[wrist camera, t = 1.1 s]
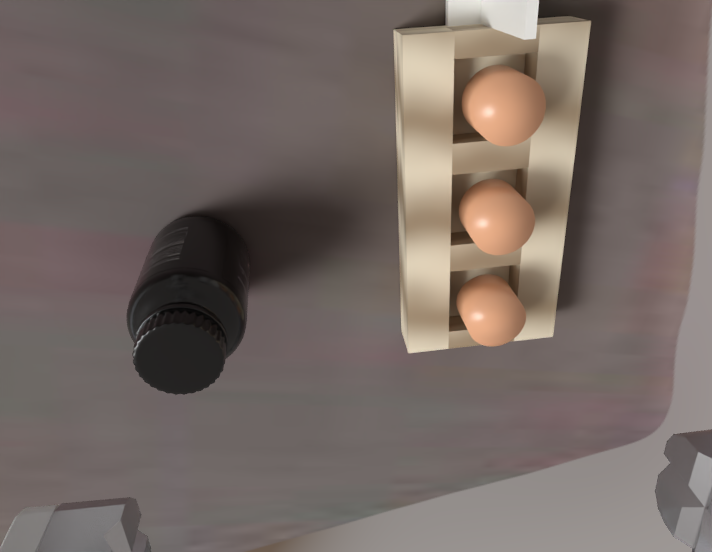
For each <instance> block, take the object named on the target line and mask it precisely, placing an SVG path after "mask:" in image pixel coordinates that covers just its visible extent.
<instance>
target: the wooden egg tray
mask: <svg viewBox="0 0 712 552" xmlns="http://www.w3.org/2000/svg"><path fill="white" fill-rule="evenodd" d="M590 27H591V21H590V20H585V19H581V18H576V17H572V16H562V17H548V18H538V19H537V32H536V39H527V40H524V39H521V38H518V37H515V36H512V35H510V34H507V33H504V32H501V31H499V30H496V29H493V28H490V27H487V26H485V25H482V24H473V25H460V26H446V25H444V26H431V27H418V28H405V29H394V63H395V102H396V141H397V179H398V218H399V257H400V295H401V331H402V334H403V337H404V340H405V343H406V347H407V350H408V353H415V352H423V351H432V350H441V349H450V348H458V347H467V346H476V345H481V344H479V343H477V342H476V341H475V340H473V338H472V337H471V336H470V334H469V332H468V330H467V328H466V326H465V324H464V322H463V320H462V318H461V316H460V314H459V312H458V309H457V306H456V300H457V295H458V293H459V291H460V289H461V288H462V286H463V285H464V284H465V283H466V282H468V281H469V280H470V279H472V278H474V277H477V276H480V275H484V274H492V275H497V276H499V277H501V278H503V279H504V280H505V281H506V282H507V283H508V285H509V286H510V287H511V289H512V290H513V292H514V293H515V295H516V296H517V298H518V299H519V301H520V302H521V303H522V305H523V306H524V308H525V311H526V322H525V325H524V327H523V329H522V331H521V332H520V333H519V334H518V335H517V336H516V337H515V338H514V339H513V340H511V341H519V340H528V339H537V338H545V337H553V331H554V323H555V314H556V306H557V298H558V290H559V281H560V273H561V265H562V257H563V249H564V240H565V232H566V224H567V216H568V207H569V199H570V191H571V183H572V175H573V166H574V158H575V150H576V142H577V133H578V125H579V117H580V109H581V101H582V92H583V84H584V76H585V68H586V60H587V51H588V43H589V35H590ZM491 65H505V66H509V67H511V68H513V69H515V70H517V71H519V72H521V73H523V74H525V75H527V76H529V77H531V78H532V79H534V80H535V81H536V82H537V83H538V84H539V85H540V86H541V88H542V90H543V92H544V94H545V99H546V110H545V115H544V118H543V121H542V123H541V125H540V126H539V128H538V129H537V131H536V132H535V133H534V134H533V135H532V136H531V137H530V138H528V139H527V140H525V141H524V142H522V143H520V144H517V145H514V146H498V145H495V144H492V143H491V142H489V141H488V140H486V139H485V138H484V137H483V136H482V135H481V134H480V133H479V132H477V131H476V130H475V129H474V128H473V127H472V126H471V125H470V124H469V123H468V122H467V120H466V119H465V117H464V114H463V111H462V95H463V92H464V89H465V87H466V85H467V83H468V82H469V80H470V79H471V78H472V77H473V76H474V75H475V74H476V73H477V72H478V71H480V70H481V69H483V68H485V67H488V66H491ZM486 179H500V180H503V181H505V182H507V183H509V184H510V185H511V186H512V187H513V188H514V189H515V190H516V191H517V192H518V193H519V194H520V195H521V196H522V197H523V198H524V199H525V200H526V201H527V202H528V203H529V204H530V206H531V207H532V209H533V211H534V214H535V226H534V230H533V232H532V235H531V236H530V238H529V239H528V241H527V242H526V243H525V244H524V245H523V246H522V247H520V248H519V249H518V250H516V251H514V252H512V253H509V254H505V255H491V254H488V253H485V252H483V251H482V250H480V249H479V248H478V247H477V245H476V244H475V243H474V241H473V240H472V238H471V237H470V235H469V234H468V232H467V231H466V229H465V228H464V226H463V225H462V223H461V221H460V218H459V205H460V202H461V199H462V197H463V195H464V194H465V193H466V191H467V190H468V189H469V188H470V187H471V186H473V185H474V184H476V183H478V182H480V181H482V180H486ZM509 342H510V341H509Z"/></svg>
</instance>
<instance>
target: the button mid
mask: <svg viewBox="0 0 712 552" xmlns="http://www.w3.org/2000/svg"><path fill="white" fill-rule="evenodd" d="M459 218H460V221H461V223H462V225H463V226H464V228H465V229H466V231H467V232H468V234H469V235H470V237H471V238H472V240H473V241H474V243H475V244H476V245H477V247H478V248H479V249H480V250H482V251H483V252H485V253H488V254H491V255H505V254H509V253H512V252H514V251H516V250H518V249H519V248H520V247H522V246H523V245H524V244H525V243H526V242H527V241H528V239H529V238H530V236H531V235H532V232H533V230H534V226H535V214H534V211H533V209H532V207H531V206H530V204H529V203H528V202H527V201H526V200H525V199H524V198H523V197H522V196H521V195H520V194H519V193H518V192H517V191H516V190H515V189H514V188H513V187H512V186H511V185H510V184H509V183H507V182H505V181H503V180H500V179H486V180H482V181H480V182H478V183H476V184H474V185H473V186H471V187H470V188H469V189H468V190H467V191H466V193H465V194H464V195H463V197H462V199H461V202H460V205H459Z"/></svg>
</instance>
